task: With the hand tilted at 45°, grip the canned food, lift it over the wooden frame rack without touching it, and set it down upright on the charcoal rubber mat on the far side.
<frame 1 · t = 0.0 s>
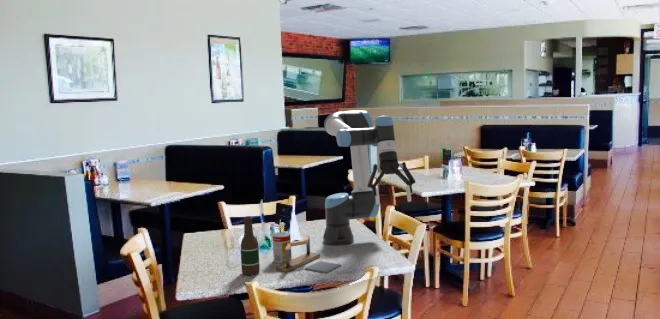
hand: (393, 202, 235), 28 cm above the table, tool tilted 20°, fingers open, 13 cm apart
charcoal mat: (323, 267, 242), on the table
beer bottle: (251, 273, 239), on the table
canned food: (282, 260, 254), on the table
wooden frame rack: (298, 263, 249), on the table
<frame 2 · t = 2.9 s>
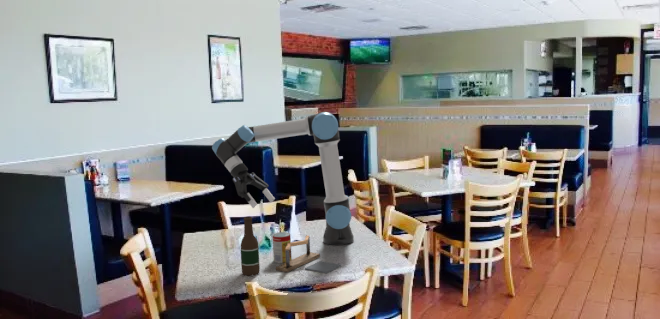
hand: (264, 203, 255), 25 cm above the table, tool tilted 45°, fingers open, 13 cm apart
nothing on the table moved.
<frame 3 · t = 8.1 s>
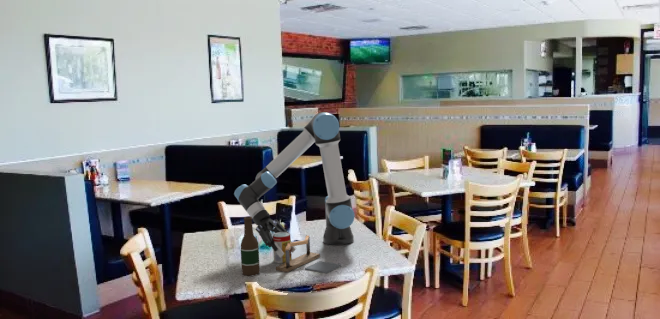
hand: (288, 253, 252), 4 cm above the table, tool tilted 45°, fingers closed on canned food, 8 cm apart
canned food: (282, 260, 254), on the table, touching gripper
everything else where it was.
when the fingers open (6 cm above the table, at t = 14.7 s): canned food drops 1 cm, resting on charcoal mat.
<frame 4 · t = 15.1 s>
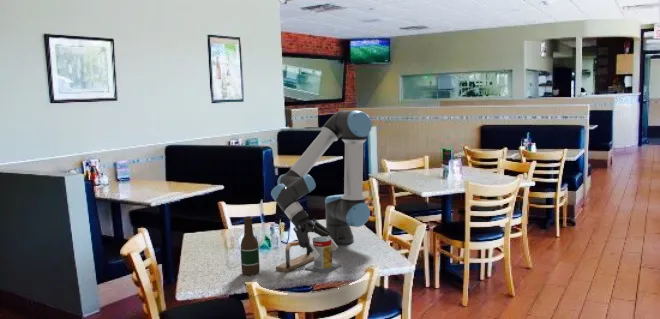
hand: (327, 253, 240), 7 cm above the table, tool tilted 45°, fingers open, 13 cm apart
canned food: (323, 266, 242), resting on charcoal mat
everything else where it was.
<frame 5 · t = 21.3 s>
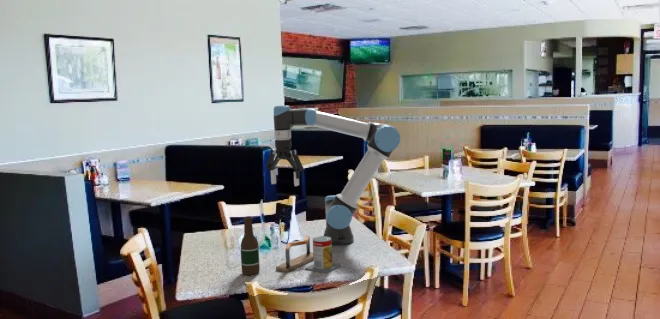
hand: (285, 184, 265), 32 cm above the table, tool pointing down, fingers open, 13 cm apart
nothing on the table moved.
at the end: canned food inside the target area on the charcoal mat (0.0 cm from its centre), point 0.4 cm above the charcoal mat's base; canned food tilted 0°; canned food touching charcoal mat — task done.
